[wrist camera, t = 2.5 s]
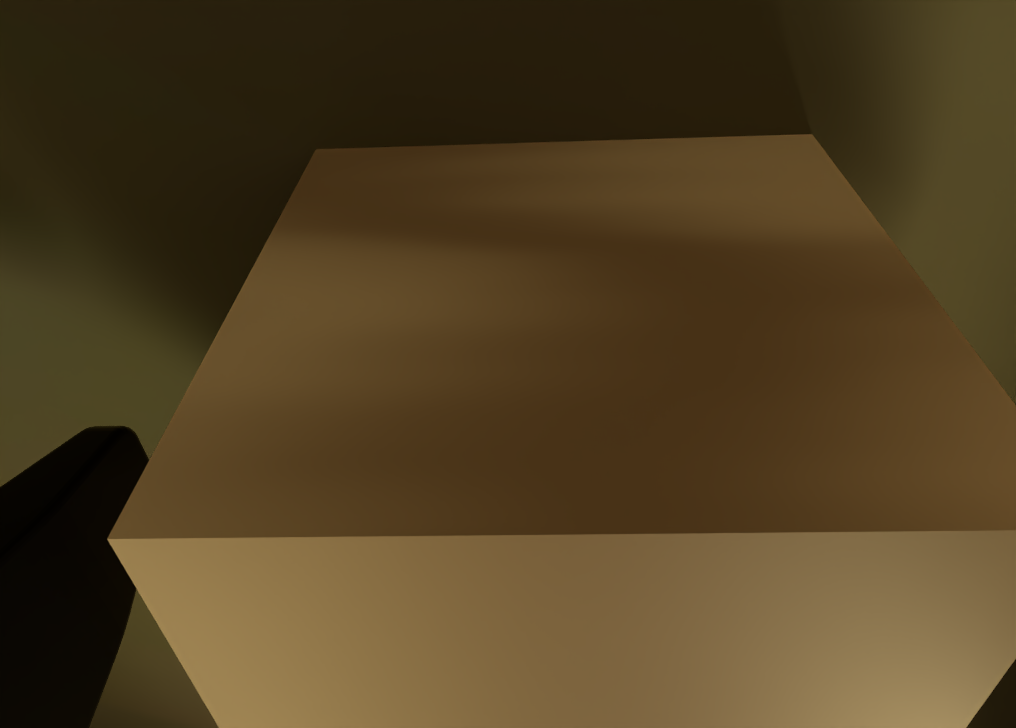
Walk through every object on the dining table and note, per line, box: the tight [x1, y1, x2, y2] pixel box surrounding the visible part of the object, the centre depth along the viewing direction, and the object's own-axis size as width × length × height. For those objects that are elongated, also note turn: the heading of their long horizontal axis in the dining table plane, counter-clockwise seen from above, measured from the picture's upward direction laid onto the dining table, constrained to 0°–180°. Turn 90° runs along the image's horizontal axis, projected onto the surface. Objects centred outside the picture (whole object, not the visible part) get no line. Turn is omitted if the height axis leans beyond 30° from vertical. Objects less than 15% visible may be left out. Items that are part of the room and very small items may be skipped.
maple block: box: [107, 134, 1016, 728], centre depth 7 cm, size 5×5×5 cm
